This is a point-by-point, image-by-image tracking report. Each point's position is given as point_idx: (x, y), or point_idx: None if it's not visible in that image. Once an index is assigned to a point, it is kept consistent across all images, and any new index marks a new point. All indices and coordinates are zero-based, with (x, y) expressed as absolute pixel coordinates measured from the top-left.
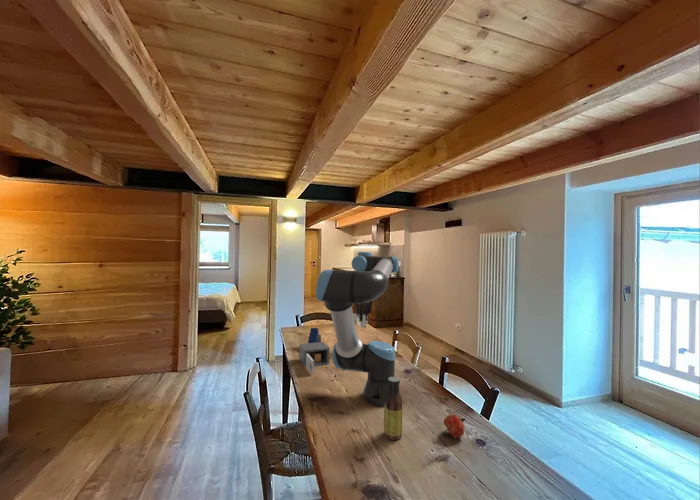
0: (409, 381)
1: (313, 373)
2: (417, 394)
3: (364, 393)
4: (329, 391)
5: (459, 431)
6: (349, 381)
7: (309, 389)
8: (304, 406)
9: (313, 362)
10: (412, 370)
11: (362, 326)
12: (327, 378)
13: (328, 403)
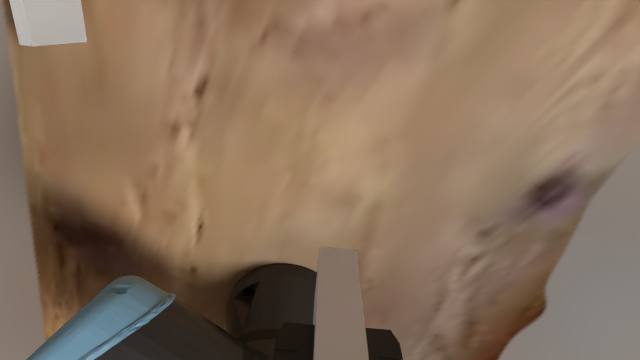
0: (464, 266)
1: (84, 41)
2: (407, 337)
3: (226, 312)
4: (135, 209)
5: None
6: (241, 170)
7: (61, 164)
8: (36, 259)
9: (37, 45)
10: (577, 194)
11: (314, 302)
12: (156, 100)
13: (114, 273)
